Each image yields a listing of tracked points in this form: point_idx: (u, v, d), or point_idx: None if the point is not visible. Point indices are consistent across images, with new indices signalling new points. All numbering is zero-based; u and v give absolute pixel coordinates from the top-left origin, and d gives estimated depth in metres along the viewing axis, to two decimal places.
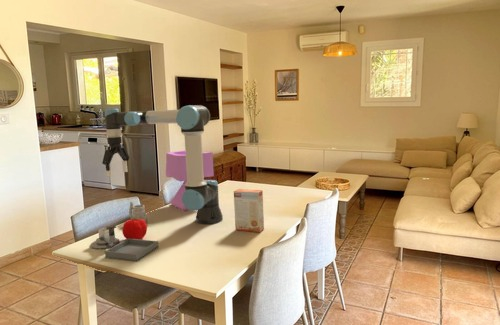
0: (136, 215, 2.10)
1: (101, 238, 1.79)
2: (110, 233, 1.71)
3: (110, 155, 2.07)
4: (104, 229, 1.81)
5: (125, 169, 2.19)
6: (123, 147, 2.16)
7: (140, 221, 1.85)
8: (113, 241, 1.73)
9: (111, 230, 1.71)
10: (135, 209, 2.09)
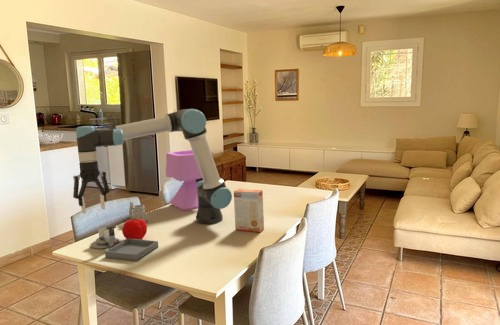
0: (136, 215, 2.10)
1: (101, 238, 1.79)
2: (110, 233, 1.71)
3: (82, 186, 1.66)
4: (104, 229, 1.81)
5: (102, 206, 1.73)
6: (103, 176, 1.71)
7: (140, 221, 1.85)
8: (113, 241, 1.73)
9: (111, 230, 1.71)
10: (135, 209, 2.09)
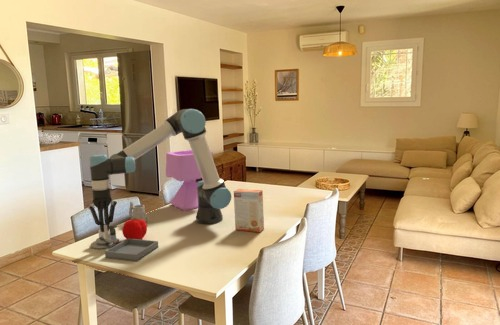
0: (136, 215, 2.10)
1: (101, 238, 1.79)
2: (111, 233, 1.72)
3: (99, 213, 1.72)
4: None
5: None
6: (113, 204, 1.75)
7: (140, 221, 1.85)
8: (114, 241, 1.74)
9: (112, 230, 1.72)
10: (135, 209, 2.09)
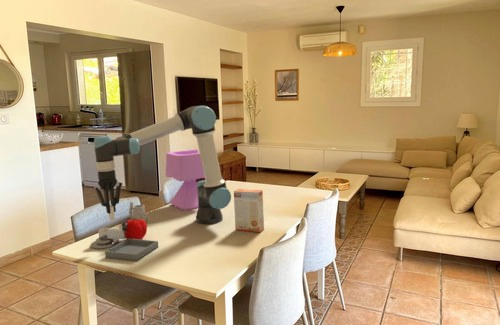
0: (136, 215, 2.10)
1: (105, 238, 1.79)
2: (125, 228, 1.78)
3: (105, 195, 1.73)
4: (105, 229, 1.81)
5: (112, 217, 1.76)
6: (118, 186, 1.76)
7: (140, 221, 1.85)
8: (125, 236, 1.80)
9: (126, 225, 1.78)
10: (135, 209, 2.09)
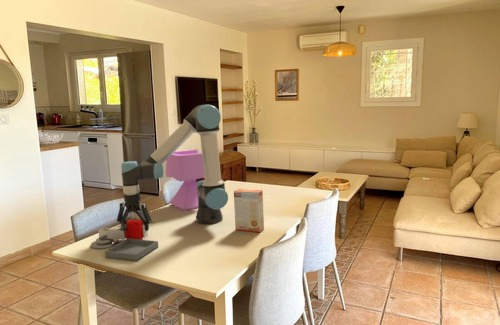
0: (136, 215, 2.10)
1: (105, 238, 1.79)
2: (125, 228, 1.78)
3: None
4: (105, 229, 1.81)
5: None
6: (141, 208, 1.82)
7: (140, 221, 1.85)
8: (125, 236, 1.80)
9: (126, 225, 1.78)
10: None
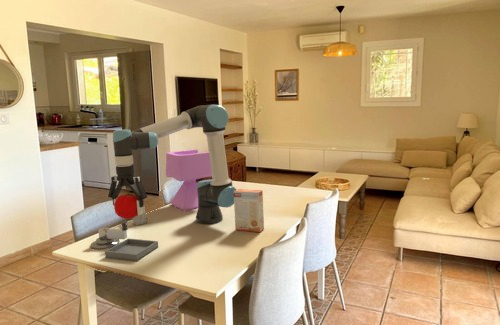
0: None
1: (105, 238, 1.79)
2: (125, 228, 1.78)
3: None
4: (105, 229, 1.81)
5: None
6: (135, 181, 1.62)
7: (134, 196, 1.65)
8: (125, 236, 1.80)
9: (126, 225, 1.78)
10: None
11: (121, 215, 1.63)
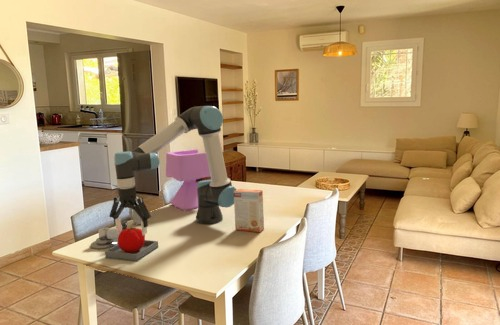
0: (136, 215, 2.10)
1: (105, 238, 1.79)
2: (125, 228, 1.78)
3: None
4: (105, 229, 1.81)
5: None
6: (138, 203, 1.64)
7: (137, 231, 1.68)
8: None
9: (126, 225, 1.78)
10: None
11: (125, 249, 1.65)
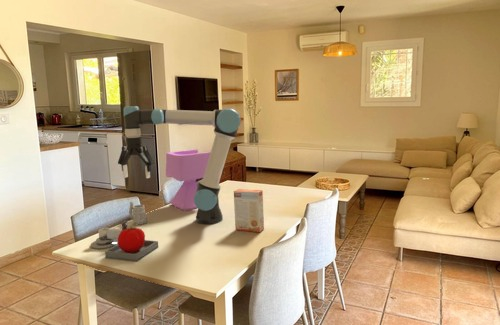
0: (136, 215, 2.10)
1: (105, 238, 1.79)
2: (125, 228, 1.78)
3: None
4: (105, 229, 1.81)
5: None
6: (143, 150, 1.90)
7: (137, 231, 1.68)
8: None
9: (126, 225, 1.78)
10: (135, 209, 2.09)
11: (125, 249, 1.65)
